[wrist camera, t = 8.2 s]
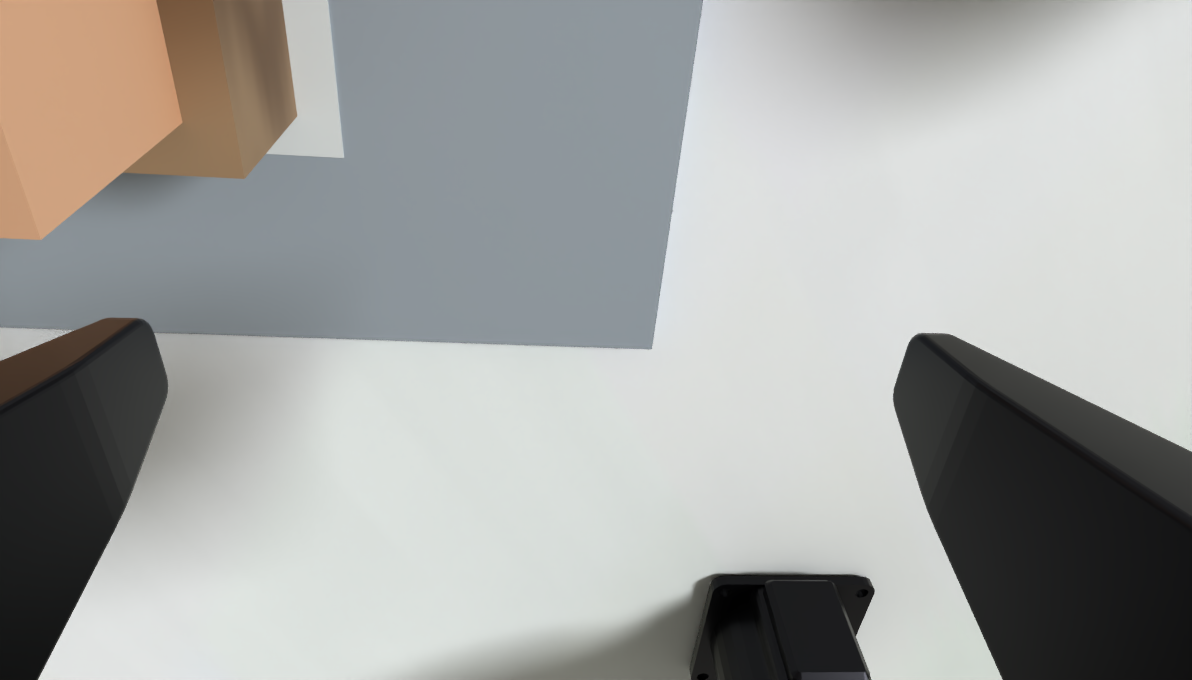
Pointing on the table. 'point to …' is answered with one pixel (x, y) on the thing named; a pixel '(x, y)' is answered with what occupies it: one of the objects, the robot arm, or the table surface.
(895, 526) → the table surface
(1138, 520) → the robot arm
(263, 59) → the base block
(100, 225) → the plate
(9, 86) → the top block
